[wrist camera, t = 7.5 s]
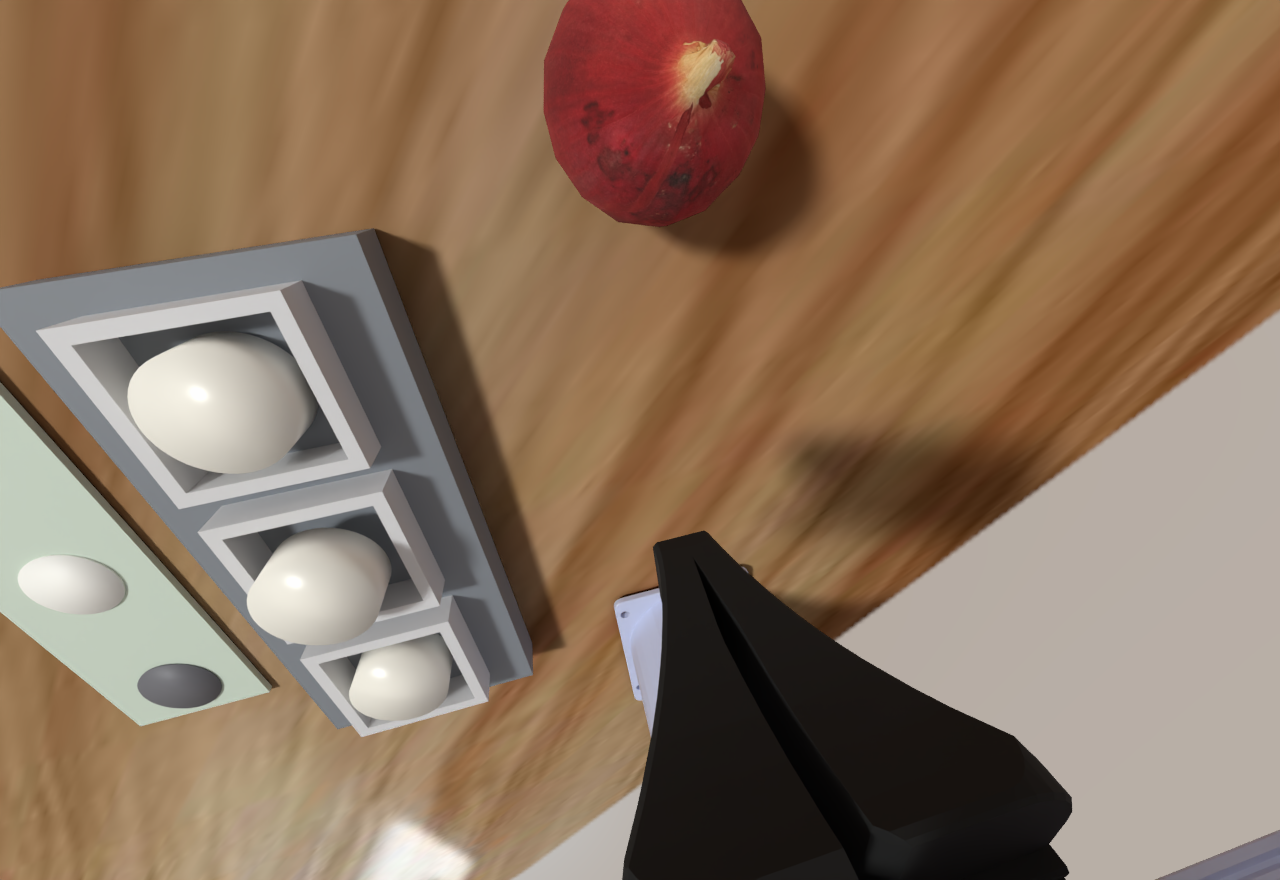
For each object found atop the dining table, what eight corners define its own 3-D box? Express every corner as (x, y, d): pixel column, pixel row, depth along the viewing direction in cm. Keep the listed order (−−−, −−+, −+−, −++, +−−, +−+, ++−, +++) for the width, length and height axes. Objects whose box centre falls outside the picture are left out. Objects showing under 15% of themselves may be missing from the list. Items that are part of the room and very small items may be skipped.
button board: (532, 643, 27) (533, 701, 24) (349, 692, 26) (327, 760, 23) (373, 228, 16) (339, 240, 13) (37, 280, 14) (-89, 306, 11)
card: (272, 686, 24) (268, 693, 24) (144, 720, 24) (139, 728, 23) (-20, 359, 15) (-32, 363, 15) (-244, 397, 14) (-263, 402, 14)
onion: (693, 224, 18) (798, 252, 11) (538, 208, 17) (550, 229, 10) (721, 28, 15) (884, -94, 8) (539, -12, 14) (557, -196, 7)
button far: (464, 671, 24) (460, 705, 22) (381, 693, 23) (372, 730, 22) (436, 618, 22) (430, 652, 20) (345, 642, 21) (332, 678, 20)
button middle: (407, 592, 19) (397, 628, 18) (303, 617, 19) (283, 657, 17) (366, 516, 17) (350, 549, 16) (248, 543, 17) (220, 580, 15)
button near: (339, 432, 17) (319, 457, 15) (216, 456, 16) (183, 486, 14) (280, 320, 14) (252, 337, 13) (138, 344, 14) (90, 365, 12)
